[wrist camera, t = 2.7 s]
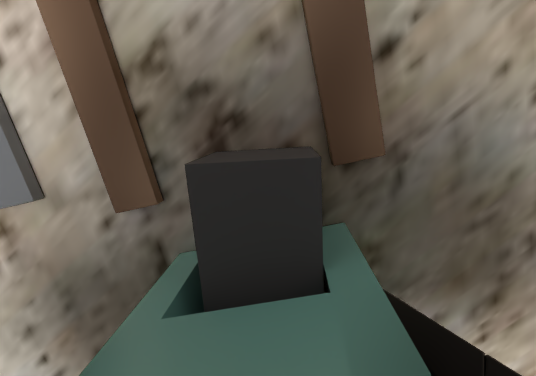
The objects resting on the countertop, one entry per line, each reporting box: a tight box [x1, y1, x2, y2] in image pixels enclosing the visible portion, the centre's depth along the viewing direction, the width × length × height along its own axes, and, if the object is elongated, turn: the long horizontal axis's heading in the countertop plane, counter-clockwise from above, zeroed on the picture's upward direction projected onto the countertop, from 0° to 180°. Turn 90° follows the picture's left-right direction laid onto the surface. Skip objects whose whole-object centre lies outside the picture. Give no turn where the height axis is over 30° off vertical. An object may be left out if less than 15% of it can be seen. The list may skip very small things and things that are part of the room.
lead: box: [185, 146, 324, 312], centre depth 8 cm, size 3×10×3 cm, turn 4°
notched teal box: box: [79, 223, 431, 376], centre depth 7 cm, size 6×4×6 cm
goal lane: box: [36, 0, 385, 213], centre depth 8 cm, size 9×8×1 cm
